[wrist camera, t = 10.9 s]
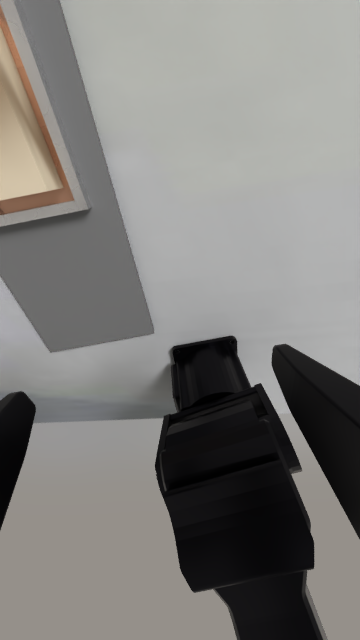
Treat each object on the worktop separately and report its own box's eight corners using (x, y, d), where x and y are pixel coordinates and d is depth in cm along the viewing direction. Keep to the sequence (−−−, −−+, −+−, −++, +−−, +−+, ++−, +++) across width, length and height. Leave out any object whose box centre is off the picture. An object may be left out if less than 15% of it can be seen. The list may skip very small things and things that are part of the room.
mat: (34, -86, 10) (29, -98, 9) (154, 330, 22) (154, 333, 21) (-192, -34, 10) (-208, -43, 9) (52, 348, 22) (50, 352, 22)
